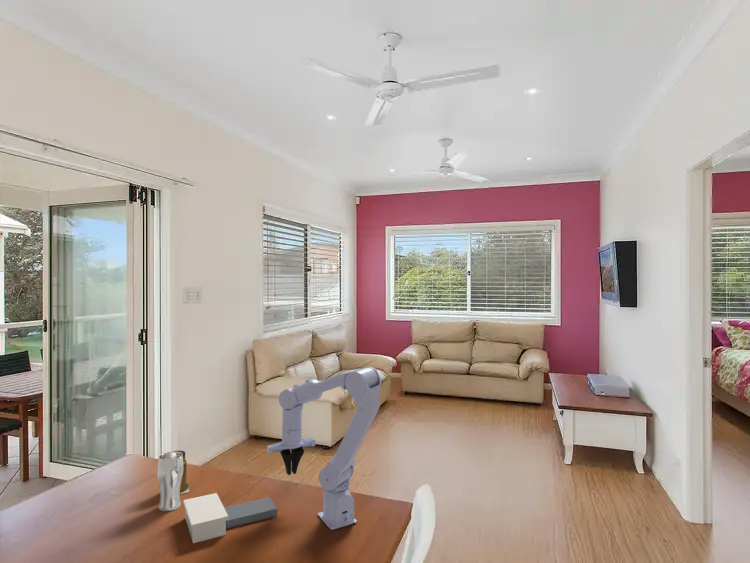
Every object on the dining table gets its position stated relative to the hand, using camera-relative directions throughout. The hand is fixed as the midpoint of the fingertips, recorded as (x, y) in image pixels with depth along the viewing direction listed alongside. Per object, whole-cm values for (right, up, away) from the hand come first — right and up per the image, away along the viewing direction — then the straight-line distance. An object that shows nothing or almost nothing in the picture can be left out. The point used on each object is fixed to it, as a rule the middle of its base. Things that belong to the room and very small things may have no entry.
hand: (291, 473), depth 133 cm
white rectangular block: (-21, -9, -13) cm, 26 cm away
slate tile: (-11, -10, -7) cm, 16 cm away
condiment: (-39, -9, +9) cm, 41 cm away
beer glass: (-36, -9, -2) cm, 37 cm away
